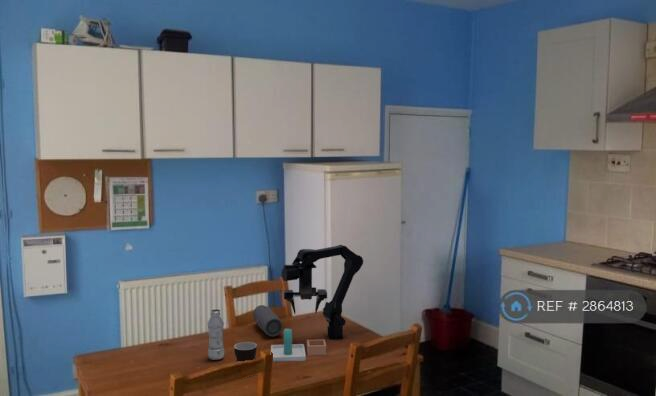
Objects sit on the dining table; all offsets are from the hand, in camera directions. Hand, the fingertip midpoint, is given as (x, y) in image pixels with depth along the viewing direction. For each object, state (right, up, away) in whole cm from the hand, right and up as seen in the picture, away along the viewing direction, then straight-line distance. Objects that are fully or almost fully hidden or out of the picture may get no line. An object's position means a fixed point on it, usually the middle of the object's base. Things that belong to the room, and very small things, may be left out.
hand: (305, 313), depth 238 cm
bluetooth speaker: (-18, -12, +15) cm, 27 cm away
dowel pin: (-7, -14, -14) cm, 20 cm away
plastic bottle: (-35, -15, -18) cm, 42 cm away
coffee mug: (-21, -16, -29) cm, 39 cm away
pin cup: (+5, -14, -10) cm, 18 cm away
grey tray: (-7, -14, -13) cm, 21 cm away
